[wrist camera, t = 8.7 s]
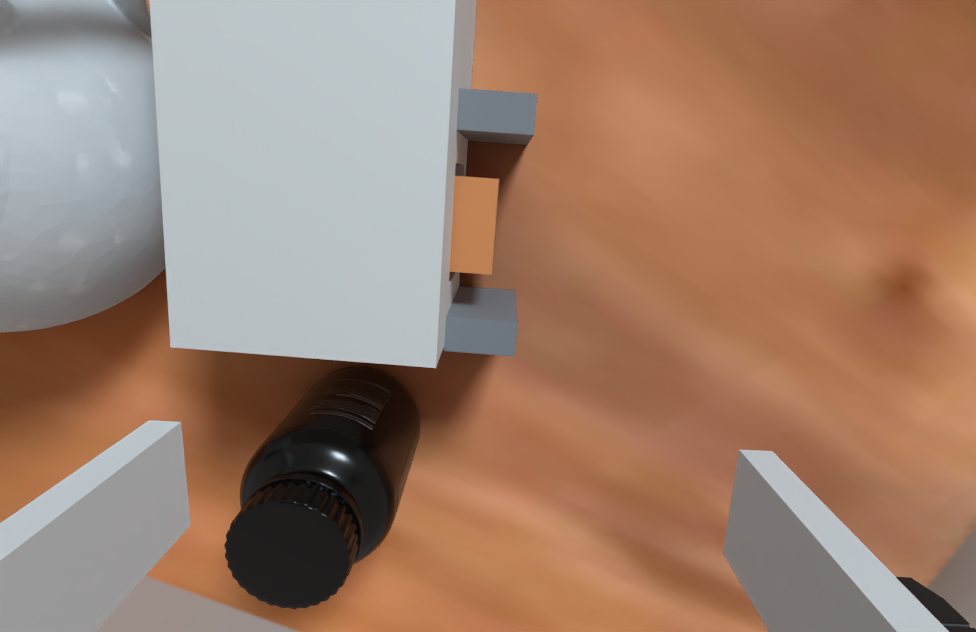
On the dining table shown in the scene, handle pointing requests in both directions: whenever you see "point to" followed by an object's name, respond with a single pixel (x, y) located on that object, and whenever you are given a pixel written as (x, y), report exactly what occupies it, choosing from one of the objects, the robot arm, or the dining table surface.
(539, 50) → the dining table surface
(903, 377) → the dining table surface
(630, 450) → the dining table surface
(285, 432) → the supplement bottle
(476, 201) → the block
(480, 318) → the box
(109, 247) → the teapot
